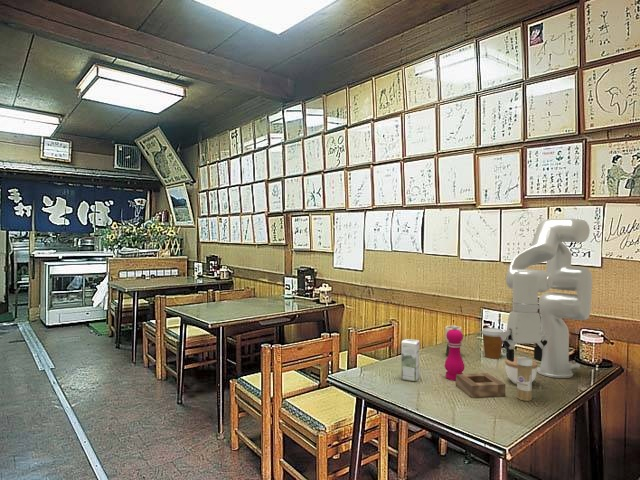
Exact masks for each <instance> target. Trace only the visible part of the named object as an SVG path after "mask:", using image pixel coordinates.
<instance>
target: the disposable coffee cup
mask: <svg viewBox="0 0 640 480" xmlns="http://www.w3.org/2000/svg"><path fill="white" fill-rule="evenodd" d="M503 332H504V330H503V329H501V328H497V327H484V328H482V330H481V334H482V340H483V341H482V342H483V350H484V357H486V358H488V359H493V360H495V359H496V360H497V359H500V358H501V357H502V356H501V354H502V349H503V344H502V342H501V340H500V338H499V335H500V334H502V333H503Z"/></svg>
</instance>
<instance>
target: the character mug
mask: <svg viewBox="0 0 640 480" xmlns="http://www.w3.org/2000/svg"><path fill="white" fill-rule="evenodd" d="M453 326H454V325H446V326H445V328H444V340H445V342H447V344H446V351H445V355H446V356H448V355H449V346H448V342H449V341H448V339H447V337H446V335H447V332H448V331H449V330H451V329H452V327H453ZM456 326H457V330H459V331H461V332H462V333H463V330H462V329H463V328H462V327H461V326H460V325H459V326H458V325H456ZM460 355H461V353H460ZM461 356H462V355H461Z"/></svg>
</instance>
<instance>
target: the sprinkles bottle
mask: <svg viewBox="0 0 640 480" xmlns="http://www.w3.org/2000/svg"><path fill="white" fill-rule="evenodd" d="M516 358H517V364H518V378H517V384H516V388H517V389H516V390H517V392H516V393H517V394H516V397H517V399H518V400H520V401H523V402H524V401H525V402H529V401H532V399H533V397H532V390H533V383H532V382H533V381H532V361H533V359H532V358H530V357H525V356H519V357H516Z"/></svg>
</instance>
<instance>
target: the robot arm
mask: <svg viewBox="0 0 640 480" xmlns="http://www.w3.org/2000/svg"><path fill="white" fill-rule="evenodd" d="M590 231H591V230H590V225H589V224H588V222H587V221H586V220H585V219H578V218H548V219H544V220H542V221H540V222H539V224H538V225H537V227H536V230H535V233H534V235H533V236H534V237H533V239H532V242H531V245H530V246H529V247H527V248H526V249H523V250H522V251H521V252H519V253H518V254H516V255H515V256H514V257H513V259H512V260H511V262H510V264H509V266H508V268H507V272H506V276H505V284H506V286H507V287H508V288H509V289H511V290H512V311H510V312H509V315H508V318H507V324H506V330H505V331H503V333H502V334H500V335H499V338H500V340H501V342H502V346H504V347H505V349H506V350H505V351H506V352H505V353H506V354H505V355H506V357H505V358H506V359H507V360H509V361H511V362H513V361H514V358H515V349H513V348H514V347H515V346H516V345H517V344H521V345H522V344H525V345H526V344H534V348H533V359H534V360H536V361H538V362H540V365H539V366H537V373H538V374H539V375H542V376H544V377H547V378H548V377H550V378H553V379H570V378H572V377H573V376H574V372H573V370H580V369H581V365H580V364H579V363H572V362H569V359H570V358H569V357H570V355H569V354H570V353H569V351H570V347H569V344H570V342H569V341H570V340H569V339H570V331H569V327H568V325H567V324H566V323H565V321H564V319H567V320H568V319H569V320H574V321H575V320H576V321H585V320H588V319H589V317H590V315H591V310H592V309H591V308H592V297H593V296H592V295H593V275H592V271H591V270H590V269H589V268H588V267H585V266H574V265H572V255H573V254H572V252H571V250H570V249H569V248H568V246H566V245H565V244H564V243H585V242H586V241H587V240H588V238H589V237H590ZM544 262H545V263H546V267H545V270H544V269H543V270H542V269H530V268H529V269H528V267H533V266H535V265H538V264H542V263H544ZM551 289H552V290H560V291H569V292H570V291H571V292H576V293H577V294H574V293H564V292H553V291H552V292H548V291H549V290H551ZM539 293H542V294H541V295H540V296H539ZM538 298H539V299H538ZM538 312H539V313H538Z"/></svg>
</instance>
